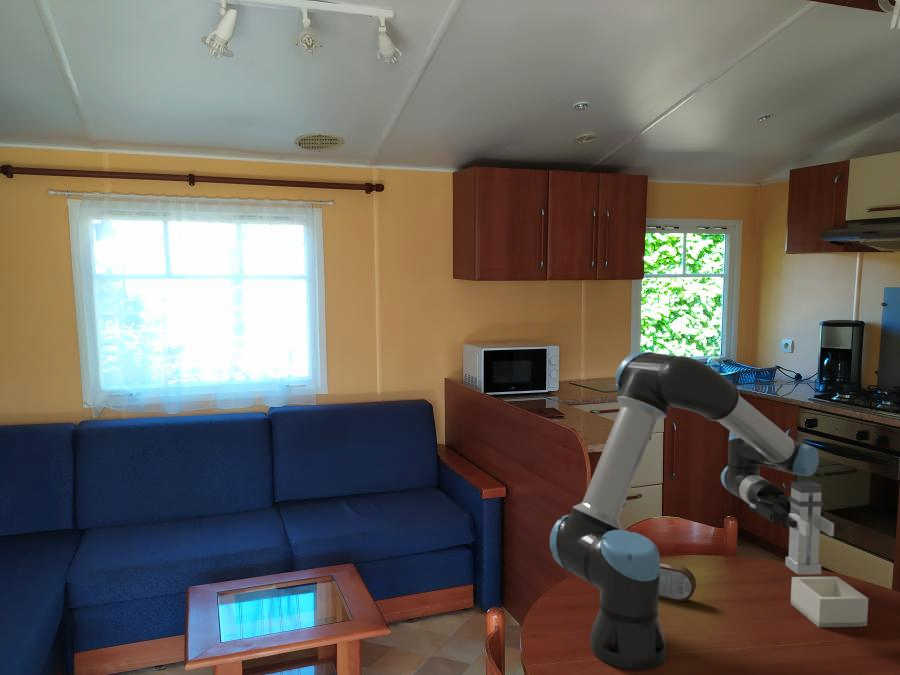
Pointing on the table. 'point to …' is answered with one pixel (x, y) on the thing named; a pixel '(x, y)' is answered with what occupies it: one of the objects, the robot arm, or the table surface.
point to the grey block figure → (809, 510)
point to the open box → (829, 602)
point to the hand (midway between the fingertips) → (819, 530)
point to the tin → (676, 582)
